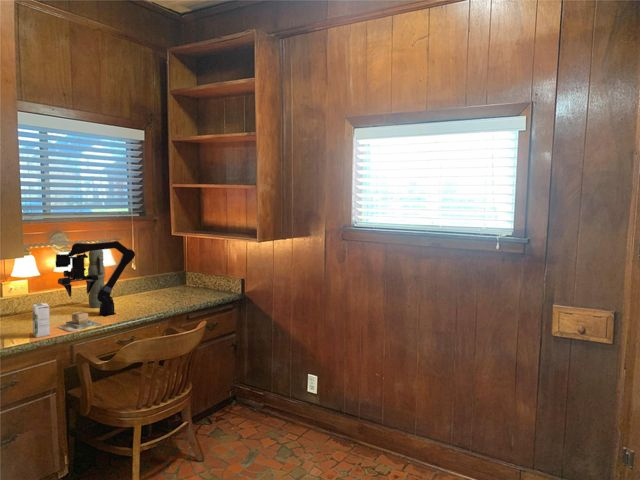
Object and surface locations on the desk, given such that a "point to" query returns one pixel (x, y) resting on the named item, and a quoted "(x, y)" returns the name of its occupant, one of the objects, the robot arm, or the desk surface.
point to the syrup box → (41, 320)
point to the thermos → (97, 269)
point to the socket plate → (78, 326)
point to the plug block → (79, 318)
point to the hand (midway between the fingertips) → (79, 295)
